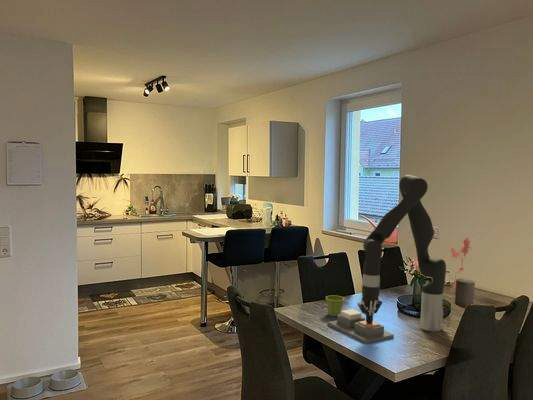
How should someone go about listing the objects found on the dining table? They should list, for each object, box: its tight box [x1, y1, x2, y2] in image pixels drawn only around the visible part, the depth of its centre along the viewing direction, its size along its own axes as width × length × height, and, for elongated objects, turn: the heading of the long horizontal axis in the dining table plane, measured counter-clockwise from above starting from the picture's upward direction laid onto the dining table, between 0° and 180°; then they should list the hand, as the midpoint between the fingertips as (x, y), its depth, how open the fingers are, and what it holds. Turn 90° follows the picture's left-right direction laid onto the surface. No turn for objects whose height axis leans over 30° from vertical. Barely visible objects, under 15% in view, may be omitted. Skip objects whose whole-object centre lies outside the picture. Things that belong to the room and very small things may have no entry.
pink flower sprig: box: [446, 236, 473, 294], centre depth 274 cm, size 15×26×35 cm, turn 139°
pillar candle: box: [454, 277, 476, 307], centre depth 250 cm, size 10×10×15 cm
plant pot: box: [325, 294, 345, 317], centre depth 225 cm, size 9×9×9 cm
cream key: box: [340, 309, 362, 320], centre depth 207 cm, size 7×7×3 cm
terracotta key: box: [358, 319, 381, 328], centre depth 197 cm, size 7×7×3 cm
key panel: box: [327, 314, 395, 345], centre depth 202 cm, size 16×26×5 cm, turn 30°
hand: (369, 323), depth 197 cm, fingers closed
